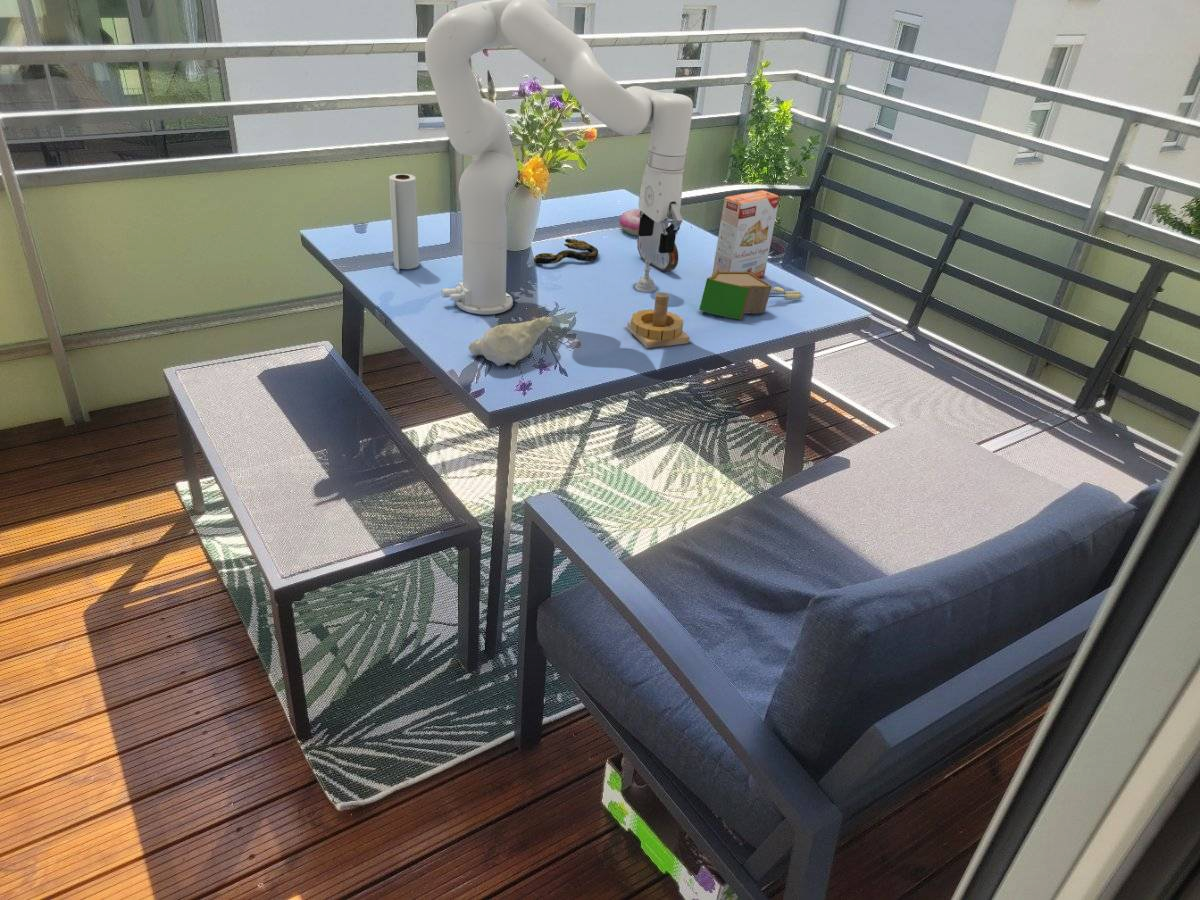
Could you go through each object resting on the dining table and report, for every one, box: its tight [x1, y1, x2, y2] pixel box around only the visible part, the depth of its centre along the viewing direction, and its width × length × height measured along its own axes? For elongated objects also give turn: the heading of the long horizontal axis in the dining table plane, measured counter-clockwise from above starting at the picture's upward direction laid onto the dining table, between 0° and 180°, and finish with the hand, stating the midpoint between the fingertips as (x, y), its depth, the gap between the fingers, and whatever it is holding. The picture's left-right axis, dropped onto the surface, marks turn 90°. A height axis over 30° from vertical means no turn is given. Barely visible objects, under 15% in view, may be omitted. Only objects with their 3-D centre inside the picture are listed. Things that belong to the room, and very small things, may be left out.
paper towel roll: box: [388, 173, 420, 272], centre depth 212 cm, size 7×6×21 cm
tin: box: [636, 235, 679, 272], centre depth 228 cm, size 15×3×8 cm, turn 32°
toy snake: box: [533, 238, 599, 265], centre depth 229 cm, size 18×5×10 cm
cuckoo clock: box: [699, 270, 802, 321], centre depth 212 cm, size 12×8×30 cm
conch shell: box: [468, 316, 554, 367], centre depth 179 cm, size 15×7×15 cm
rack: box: [626, 291, 691, 349], centre depth 193 cm, size 10×10×10 cm
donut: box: [619, 208, 669, 237], centre depth 251 cm, size 14×13×5 cm
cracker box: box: [711, 189, 781, 279], centre depth 221 cm, size 14×6×21 cm, turn 129°
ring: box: [630, 308, 684, 340], centre depth 194 cm, size 11×11×2 cm
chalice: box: [634, 211, 667, 293], centre depth 213 cm, size 7×7×18 cm
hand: (655, 243), depth 189 cm, fingers open, 9 cm apart
